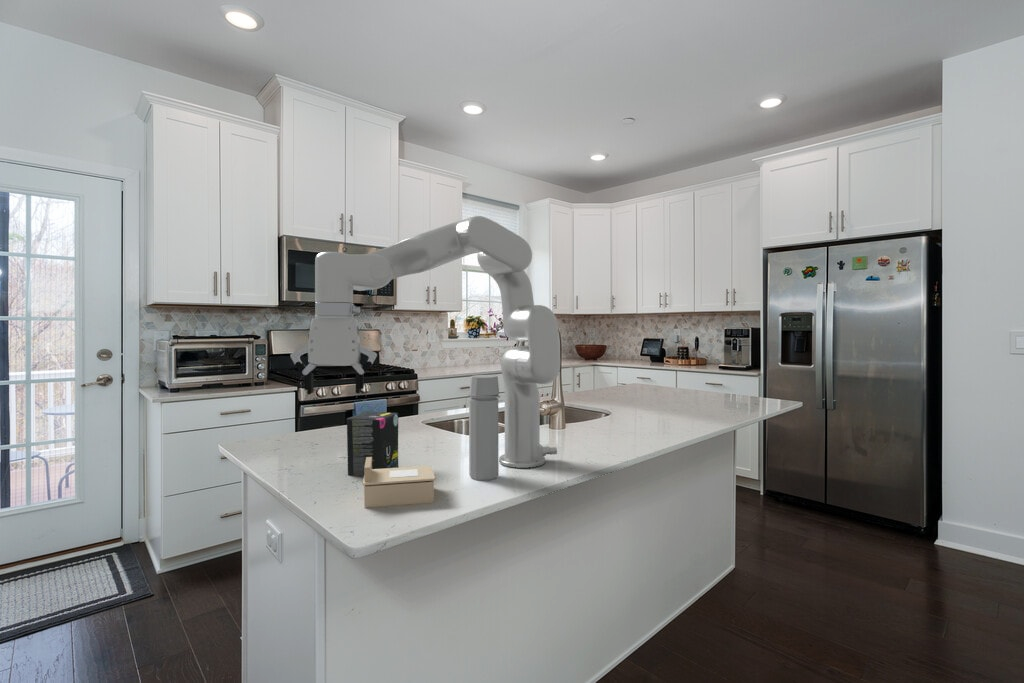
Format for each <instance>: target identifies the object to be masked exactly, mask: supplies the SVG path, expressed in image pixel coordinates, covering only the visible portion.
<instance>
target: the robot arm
mask: <svg viewBox="0 0 1024 683" xmlns="http://www.w3.org/2000/svg"><path fill="white" fill-rule="evenodd" d="M532 250H533V249H532V248H531V245H530V244H529V242H528V241H527V240H525V239H524V238H523V237H522V236H520V235H519V234H517V233H516V232H513V231H512V230H510V229H508V228H506V227H504V226H503V225H501V224H500V223H498V222H496V221H495V220H492V219H490V218H488V217H485V216H481V215H474V216H471V217H468V218H465V219H462V220H457V221H455V222H451V223H449V224H444V225H442V226H440V227H437V228H434V229H431V230H427V231H425V232H422V233H419V234H416V235H413V236H410V237H408V238H406V239H403V240H400V241H399V242H397V243H394V244H392V245H389V246H387V247H383V248H381V249H378V250H375V251H372V252H369V253H365V254H364V253H363V254H350V253H349V254H348V253H345V252H339V251H322V252H319V253H318V254H316V256H315V259H314V273H315V274H314V279H315V280H314V285H315V286H314V298H315V299H314V300H315V301H314V302H315V303H314V306H315V307H314V308H315V309H314V310H315V311H314V312H315V314H314V316H315V317H314V318H313V317H312V318H311V322H310V328H309V333H308V334H309V336H308V344H307V345H305V346H304V347H301V348H300V349H298V350H295V351H293V352H292V353H290V359H291V360H292V362H293V364H294V365H295V366H294V367H296V368H297V369H298V371H299V372H301V373H302V375H303V378H304V381H303V382H304V383H303V384H304V391H307V392H306V393H307V395H311V394H313V393H314V391H315V390H314V389H315V388H314V387H315V385H314V381H315V380H314V376H315V375H314V374H313V370H314V369H315V368H316V367H337V366H338V367H341V366H342V367H346V366H351V367H352V368H353V369H354V370H355V372H356V374H355V393H356V394H360V393H361V390H364V384H365V383H364V381H365V380H364V377H365V376H364V374H365V373H366V372H367V371H368V370H369V369H370V368H371V367H372V366H373V364H374V362H375V360H376V358H377V356H378V354H377V352H375V351H372V350H370V349H368V348H367V347H365V346H363V345H361V342H360V341H361V338H360V329H359V322H358V319H357V318H354V315H356V314H361V307H360V306H357V305H355V304H354V291H358V292H361V291H363V292H365V291H369V290H370V291H371V290H378V289H379V290H380V289H381V288H383V287H386V286H387V285H388V284H389V283H390V282H391V281H392V280H394V279H397V278H401V277H404V276H409V275H414V274H420V273H423V272H427V271H430V270H434V269H436V268H438V267H441V266H443V265H446V264H448V263H451V262H453V261H456V260H459V259H461V258H464V257H466V256H470V255H474V254H477V255H476V257H477V263H478V265H479V267H480V268H481V269H482V271H484V272H485V273H486V274H487V275H488V276H490V277H491V278H492V279H493V280H494V281H495V283H496V284H497V287H498V288H499V291H500V292H499V293H500V299H501V310H502V325H503V329H504V330H503V331H504V334H505V336H506V338H508V339H510V340H512V341H515V342H524V343H525V342H527V343H528V345H515V346H512V347H510V348H508V349H507V350H506V351H504V354H503V355H502V358H501V363H500V368H501V375H502V379H503V380H502V381H503V387H504V388H503V389H504V454H502V455H500V456H498V463H499V464H500V465H502V464H503V466H505V467H510V468H515V467H516V468H517V469H519V468H520V469H524V468H525V469H526V468H527V469H528V468H529V467H530V468H534V467H535V468H537V467H539V466H542V465H544V464H545V463H546V455H557V454H558V449H557V447H556V446H553V447H552V446H551V447H550V445H549V446H547V445H546V446H543V445H542V444H541V442H540V441H541V440H540V439H541V438H540V437H541V436H540V432H541V431H540V430H541V429H540V428H541V427H540V425H541V424H540V423H541V422H540V417H541V416H540V415H541V414H540V413H541V412H540V410H541V407H540V405H541V404H540V403H541V399H540V397H541V396H540V392H539V388H538V385H548V384H551V383H554V381H556V379H557V378H558V376H559V373H560V368H561V349H560V337H559V336H560V334H559V324H558V320H557V317H556V315H555V313H554V312H553V310H552V309H550V308H549V307H547V306H545V305H542V304H536V305H535V303H534V301H535V300H534V295H533V287H532V283H531V281H530V278H529V276H528V274H527V272H526V271H525V270H526V269H527V268H528V267H529V266H530V265H531V263H532V260H533V252H532ZM304 354H307V361H308V364H307V365H306V364H305V363H303V361H302V360H301V356H303V355H304ZM361 354H363V355H365V356H367V357H368V358H367V361H366V363H364V364H363V365H362V364H361V363H360V361H361ZM536 466H537V467H536Z"/></svg>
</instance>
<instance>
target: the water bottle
mask: <svg viewBox="0 0 1024 683" xmlns="http://www.w3.org/2000/svg"><path fill="white" fill-rule="evenodd" d="M469 381H470V382H469V383H470V384H469V390H468V392H469V393H468V394H467V395H468V397H470V398H469V399H468V412H469V413H468V429H469V430H468V435H469V436H468V438H469V440H468V444H469V445H468V447H469V448H468V451H469V452H468V454H469V455H468V456H469V457H468V459H469V460H468V461H469V462H468V464H469V466H468V467H469V468H468V469H469V470H468V474H469V477H470V478H471V480H474V481H481V482H482V481H483V482H484V481H491V480H495V479H497V478H498V477H499V474H500V473H499V471H500V470H499V467H500V466H499V398H501V396H500V387H499V385H500V384H499V377H498V375H495V374H477V375H471V376H470V380H469Z"/></svg>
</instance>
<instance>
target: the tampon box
mask: <svg viewBox="0 0 1024 683" xmlns="http://www.w3.org/2000/svg"><path fill="white" fill-rule="evenodd" d="M346 444H347V445H346V448H347V449H346V450H347V476H350V477H351V476H352V477H364V467H365V461H366V457H372V469H384V468H399V412H383V411H365V412H362V413H360V414H356V415H354V416H353V415H352V416H351V417H347V418H346Z"/></svg>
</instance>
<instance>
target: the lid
mask: <svg viewBox="0 0 1024 683" xmlns="http://www.w3.org/2000/svg"><path fill="white" fill-rule="evenodd" d="M419 481H436V476H435V472H434V469H433V466H432V465H418V466H403V467H398V468H384V469H372V457H366V461H365V467H364V476H363V480H362V486H365V485H376V484H390V483H405V482H419Z"/></svg>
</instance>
